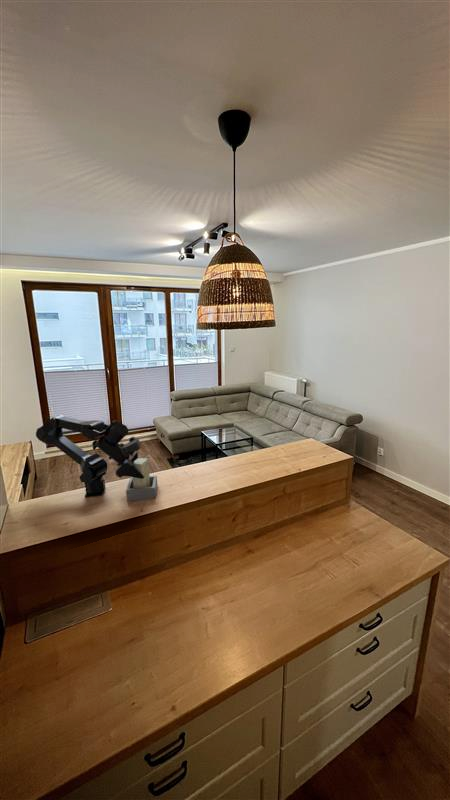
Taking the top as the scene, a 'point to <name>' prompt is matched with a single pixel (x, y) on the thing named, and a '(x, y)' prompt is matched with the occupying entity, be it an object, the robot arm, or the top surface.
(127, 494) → the gray rectangular frame
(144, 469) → the skincare box
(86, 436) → the robot arm
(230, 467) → the top surface
